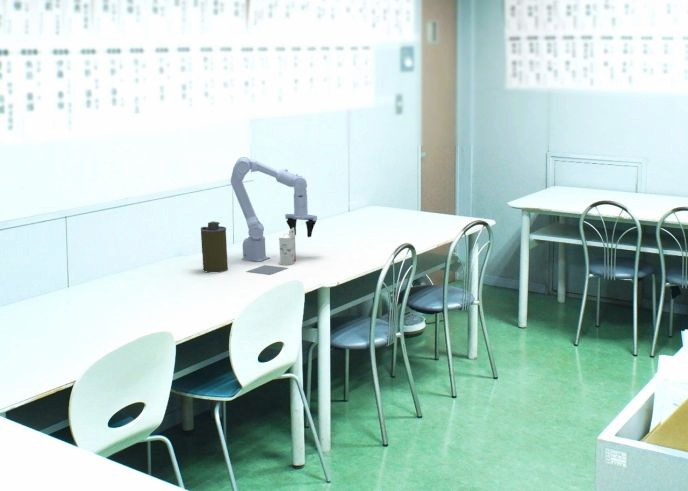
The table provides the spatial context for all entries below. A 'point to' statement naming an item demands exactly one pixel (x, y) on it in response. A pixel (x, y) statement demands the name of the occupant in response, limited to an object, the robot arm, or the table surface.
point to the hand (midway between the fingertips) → (301, 236)
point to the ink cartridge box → (287, 248)
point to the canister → (214, 248)
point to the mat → (267, 270)
